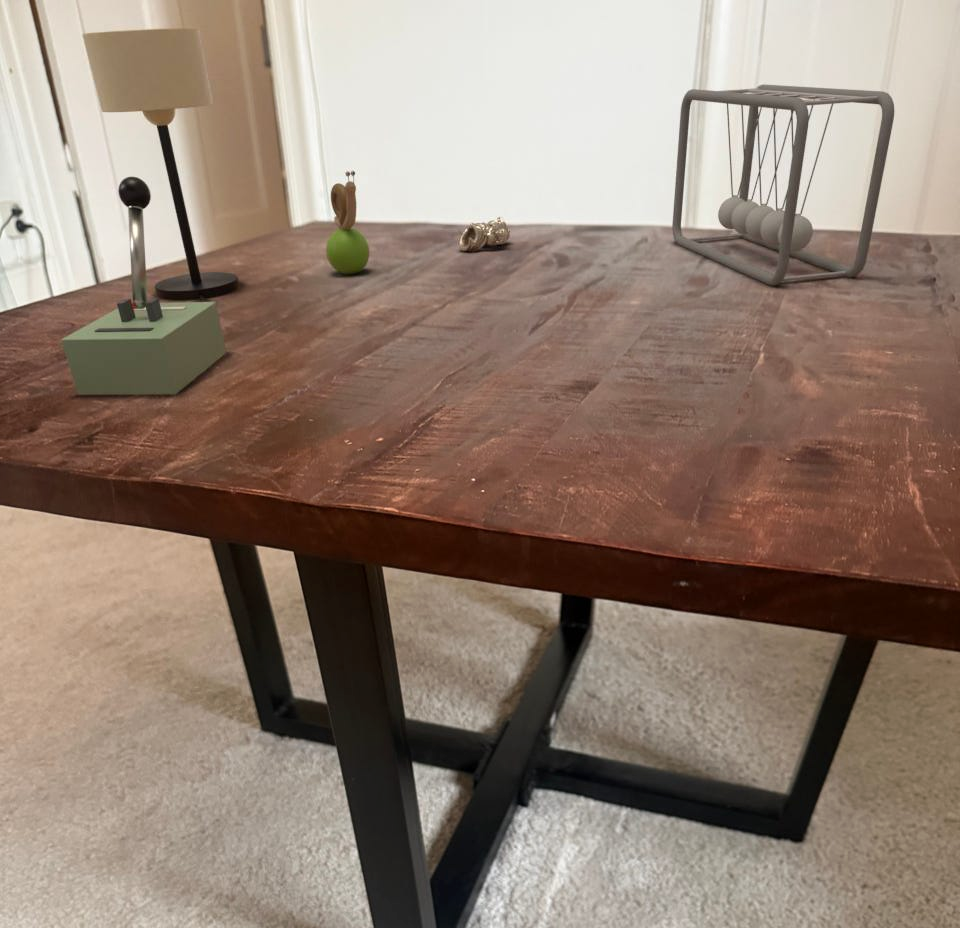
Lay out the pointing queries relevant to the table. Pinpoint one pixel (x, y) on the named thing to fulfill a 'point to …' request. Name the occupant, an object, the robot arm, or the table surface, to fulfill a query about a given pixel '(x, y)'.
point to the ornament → (484, 235)
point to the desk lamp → (159, 117)
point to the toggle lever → (136, 234)
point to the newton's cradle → (763, 221)
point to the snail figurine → (346, 232)
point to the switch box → (145, 348)
